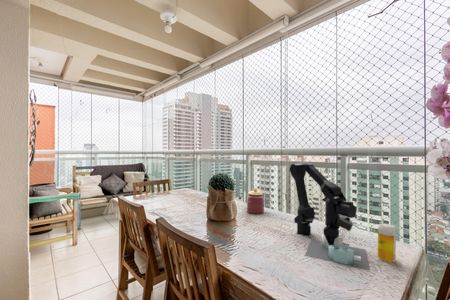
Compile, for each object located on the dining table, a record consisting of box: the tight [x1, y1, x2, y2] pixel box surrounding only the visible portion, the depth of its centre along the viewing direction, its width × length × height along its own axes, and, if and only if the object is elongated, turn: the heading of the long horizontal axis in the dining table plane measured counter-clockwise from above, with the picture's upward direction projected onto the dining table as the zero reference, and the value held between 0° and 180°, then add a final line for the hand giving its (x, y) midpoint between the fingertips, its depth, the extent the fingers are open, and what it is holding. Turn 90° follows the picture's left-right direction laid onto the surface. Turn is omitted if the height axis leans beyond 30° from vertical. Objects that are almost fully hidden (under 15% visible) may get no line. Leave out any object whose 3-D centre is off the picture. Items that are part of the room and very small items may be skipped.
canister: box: [246, 188, 265, 215], centre depth 165 cm, size 13×13×18 cm
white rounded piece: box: [321, 232, 350, 247], centre depth 105 cm, size 12×4×5 cm, turn 61°
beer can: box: [377, 222, 397, 263], centre depth 94 cm, size 6×6×15 cm
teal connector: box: [329, 245, 361, 266], centre depth 92 cm, size 12×4×5 cm, turn 61°
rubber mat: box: [304, 239, 371, 271], centre depth 99 cm, size 24×20×1 cm
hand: (332, 244), depth 106 cm, fingers open, 9 cm apart
